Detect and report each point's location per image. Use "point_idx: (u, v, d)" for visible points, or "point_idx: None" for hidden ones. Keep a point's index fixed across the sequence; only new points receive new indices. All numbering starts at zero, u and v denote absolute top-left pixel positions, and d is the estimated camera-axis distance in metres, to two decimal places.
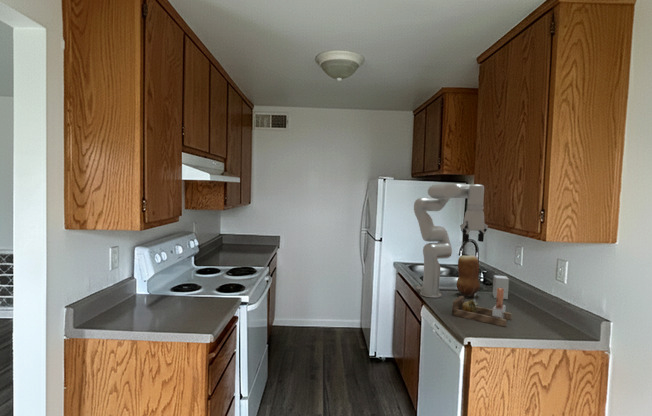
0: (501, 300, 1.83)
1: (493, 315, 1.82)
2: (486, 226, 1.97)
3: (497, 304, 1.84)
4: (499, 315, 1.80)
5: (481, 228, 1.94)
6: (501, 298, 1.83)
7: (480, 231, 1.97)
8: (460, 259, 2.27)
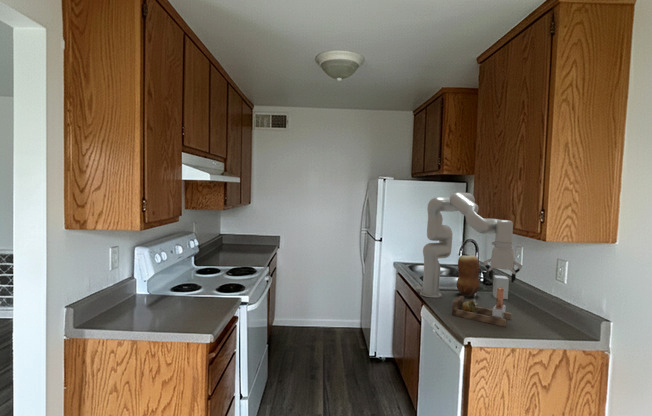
0: (501, 300, 1.83)
1: (493, 315, 1.82)
2: None
3: (497, 304, 1.84)
4: (499, 315, 1.80)
5: None
6: (501, 298, 1.83)
7: None
8: (460, 259, 2.27)
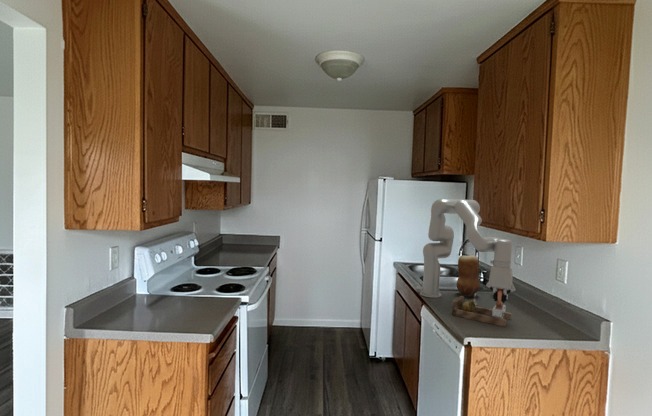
0: (501, 300, 1.83)
1: (493, 315, 1.82)
2: None
3: (497, 304, 1.84)
4: (499, 315, 1.80)
5: None
6: (501, 298, 1.83)
7: None
8: (460, 259, 2.27)
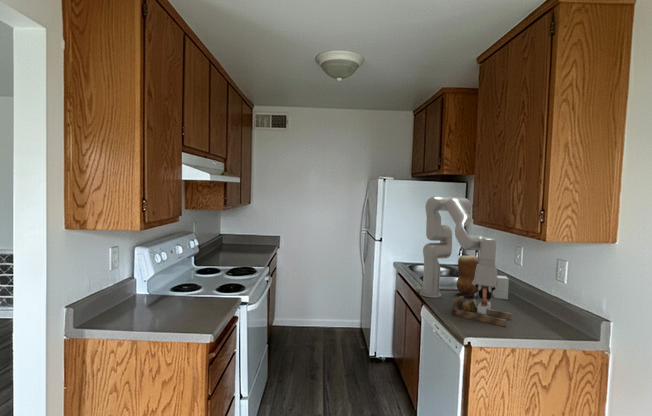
0: (486, 297, 1.87)
1: (478, 312, 1.86)
2: None
3: (482, 301, 1.88)
4: (484, 312, 1.84)
5: None
6: (486, 295, 1.87)
7: None
8: (460, 259, 2.27)
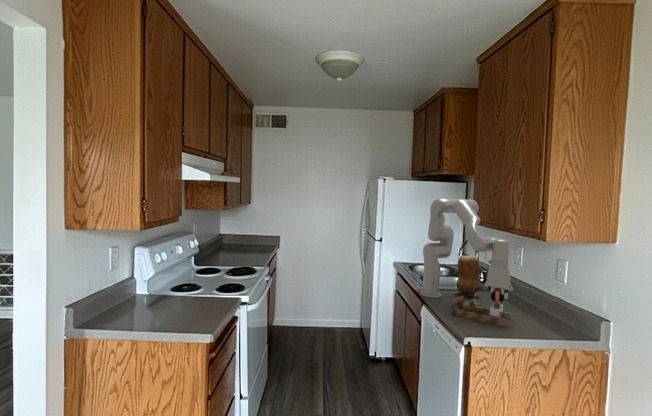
0: (499, 300, 1.84)
1: (491, 314, 1.82)
2: None
3: (495, 304, 1.85)
4: (497, 315, 1.81)
5: None
6: (499, 298, 1.84)
7: None
8: (460, 259, 2.27)
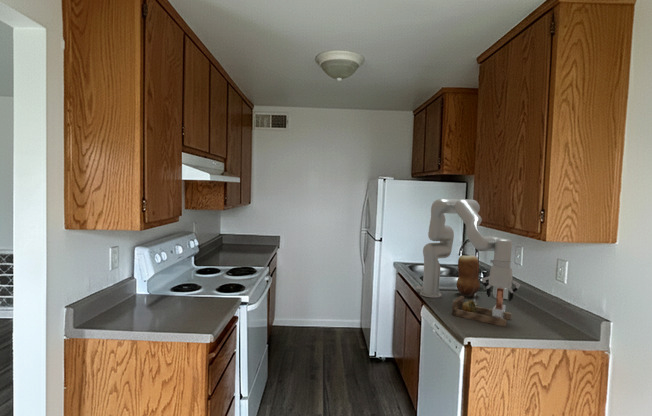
0: (501, 300, 1.83)
1: (493, 315, 1.82)
2: None
3: (497, 304, 1.84)
4: (499, 315, 1.80)
5: None
6: (501, 298, 1.83)
7: None
8: (460, 259, 2.27)
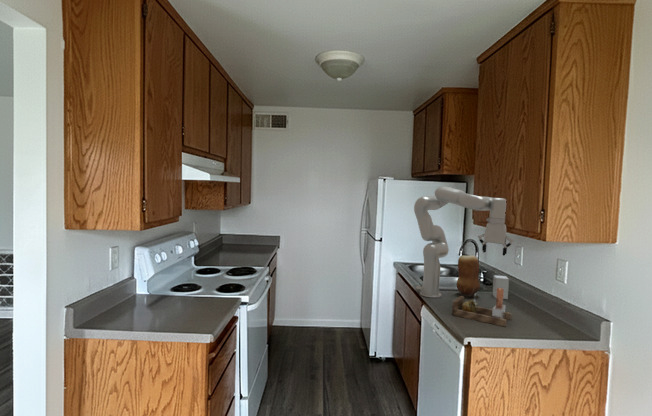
0: (501, 300, 1.83)
1: (493, 315, 1.82)
2: None
3: (497, 304, 1.84)
4: (499, 315, 1.80)
5: None
6: (501, 298, 1.83)
7: None
8: (460, 259, 2.27)
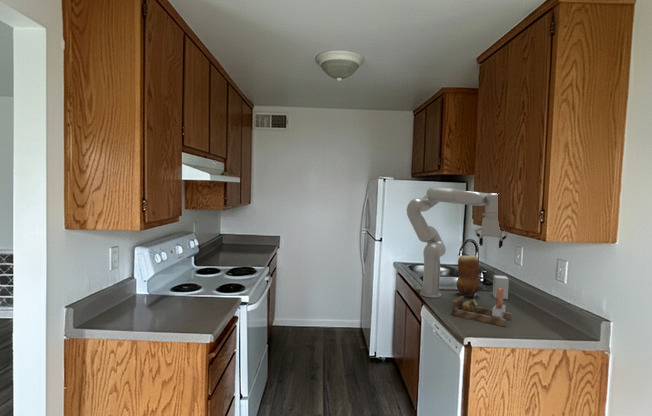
0: (501, 300, 1.83)
1: (493, 315, 1.82)
2: None
3: (497, 304, 1.84)
4: (499, 315, 1.80)
5: None
6: (501, 298, 1.83)
7: None
8: (460, 259, 2.27)
